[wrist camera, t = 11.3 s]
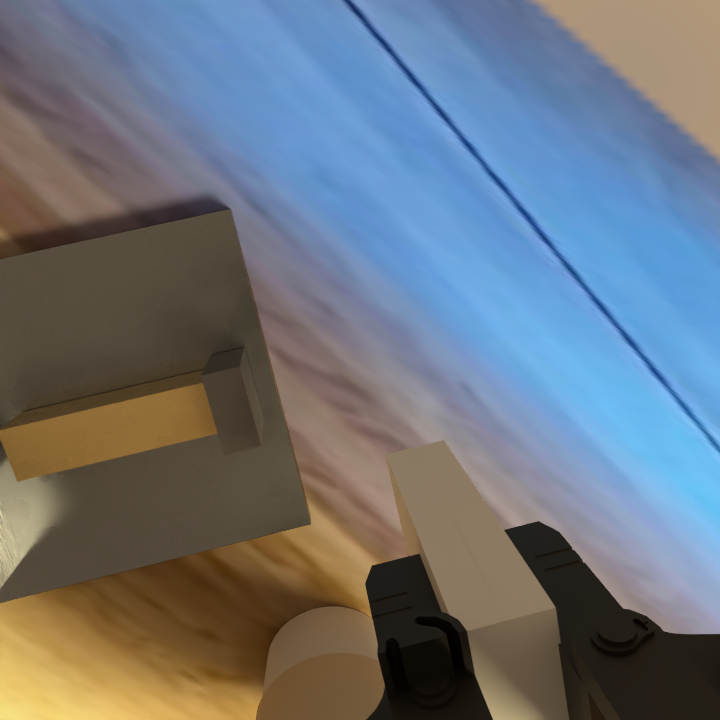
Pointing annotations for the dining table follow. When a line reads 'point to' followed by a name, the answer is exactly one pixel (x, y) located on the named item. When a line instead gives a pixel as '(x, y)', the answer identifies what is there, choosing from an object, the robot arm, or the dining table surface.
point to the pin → (139, 419)
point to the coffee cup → (323, 668)
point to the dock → (126, 369)
